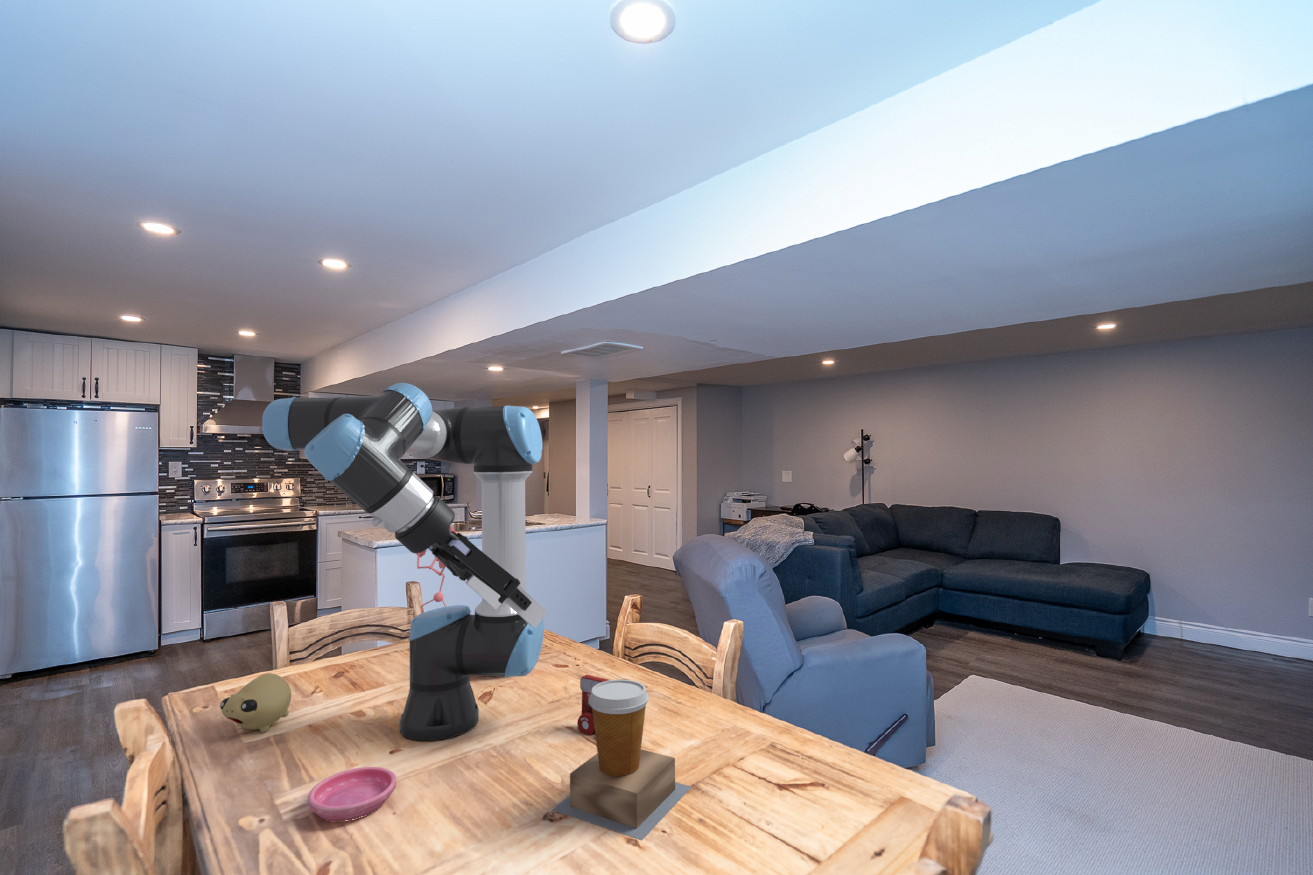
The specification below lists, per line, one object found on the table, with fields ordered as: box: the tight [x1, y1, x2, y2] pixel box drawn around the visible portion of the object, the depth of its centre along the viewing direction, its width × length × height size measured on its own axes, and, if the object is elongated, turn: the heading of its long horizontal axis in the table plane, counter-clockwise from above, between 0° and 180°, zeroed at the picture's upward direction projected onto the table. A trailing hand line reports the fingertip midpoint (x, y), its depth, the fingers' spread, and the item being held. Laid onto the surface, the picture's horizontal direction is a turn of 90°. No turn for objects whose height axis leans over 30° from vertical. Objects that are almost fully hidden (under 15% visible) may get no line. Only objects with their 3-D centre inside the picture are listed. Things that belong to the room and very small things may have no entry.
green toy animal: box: [219, 672, 292, 734], centre depth 125 cm, size 10×12×11 cm
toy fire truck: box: [576, 674, 610, 736], centre depth 122 cm, size 7×12×10 cm, turn 58°
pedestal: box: [569, 748, 676, 828], centre depth 98 cm, size 12×12×5 cm
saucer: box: [307, 766, 397, 823], centre depth 97 cm, size 12×12×3 cm
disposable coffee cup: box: [589, 679, 650, 776], centre depth 98 cm, size 10×10×12 cm
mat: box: [551, 781, 692, 841], centre depth 98 cm, size 16×16×1 cm
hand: (519, 610), depth 91 cm, fingers open, 13 cm apart
